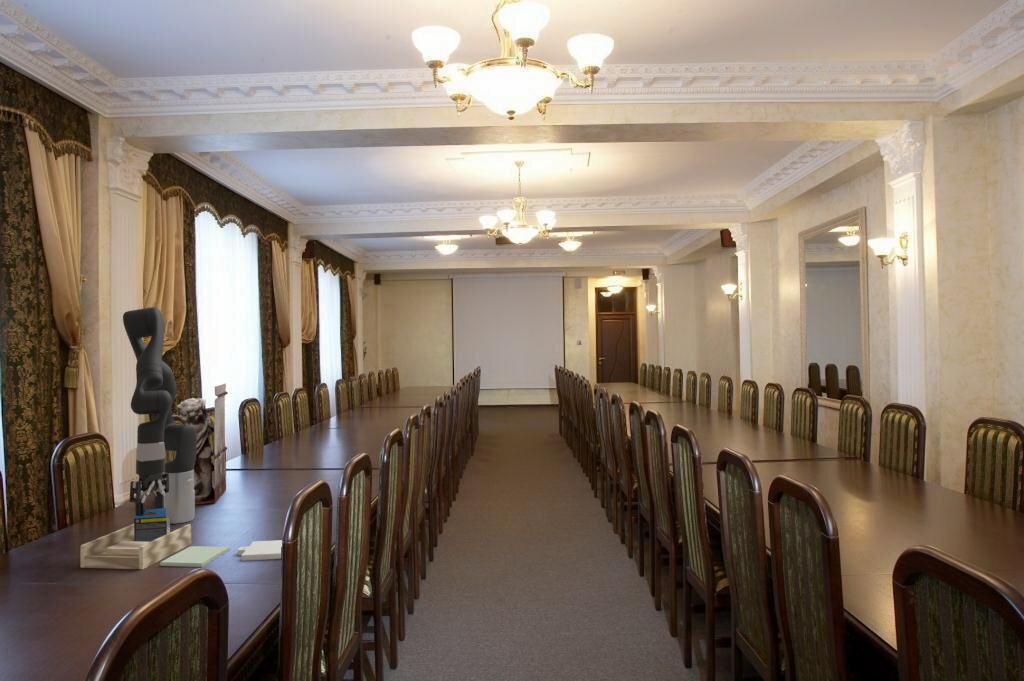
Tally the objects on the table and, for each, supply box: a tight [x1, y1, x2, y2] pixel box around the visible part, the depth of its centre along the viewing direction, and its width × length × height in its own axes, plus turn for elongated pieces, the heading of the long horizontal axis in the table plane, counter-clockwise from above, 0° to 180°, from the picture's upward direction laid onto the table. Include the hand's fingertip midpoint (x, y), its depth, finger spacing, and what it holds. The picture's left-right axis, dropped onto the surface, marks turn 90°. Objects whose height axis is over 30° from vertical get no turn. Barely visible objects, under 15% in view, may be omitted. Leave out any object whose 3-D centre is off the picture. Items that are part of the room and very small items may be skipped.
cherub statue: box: [176, 383, 229, 506], centre depth 253 cm, size 23×19×45 cm
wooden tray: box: [79, 523, 192, 570], centre depth 184 cm, size 22×18×6 cm
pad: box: [159, 545, 230, 568], centre depth 181 cm, size 14×12×1 cm
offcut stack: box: [101, 541, 149, 557], centre depth 180 cm, size 7×12×4 cm, turn 85°
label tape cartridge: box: [133, 507, 171, 542], centre depth 190 cm, size 9×4×12 cm, turn 103°
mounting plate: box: [237, 539, 283, 562], centre depth 186 cm, size 18×13×2 cm
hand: (149, 512), depth 189 cm, fingers open, 8 cm apart
